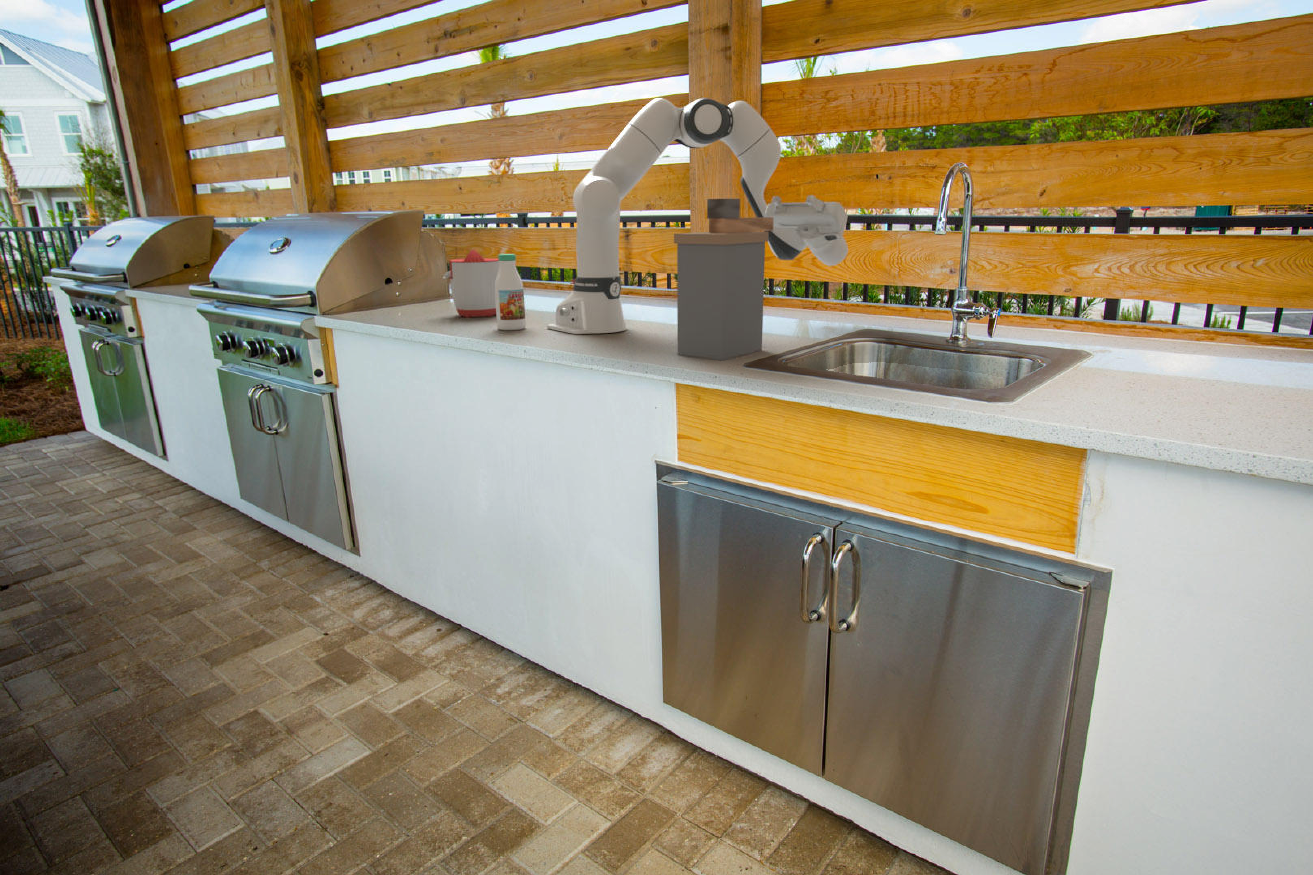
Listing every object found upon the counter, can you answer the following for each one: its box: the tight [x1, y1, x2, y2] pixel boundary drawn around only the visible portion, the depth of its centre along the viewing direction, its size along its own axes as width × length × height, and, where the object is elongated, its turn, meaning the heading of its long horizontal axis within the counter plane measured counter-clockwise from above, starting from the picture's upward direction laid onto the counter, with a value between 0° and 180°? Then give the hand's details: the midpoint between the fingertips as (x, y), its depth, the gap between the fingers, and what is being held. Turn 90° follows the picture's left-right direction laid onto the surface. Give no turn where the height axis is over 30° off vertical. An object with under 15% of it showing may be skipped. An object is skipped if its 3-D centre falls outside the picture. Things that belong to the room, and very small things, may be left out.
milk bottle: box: [495, 253, 527, 331], centre depth 208 cm, size 8×8×20 cm
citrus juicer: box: [442, 249, 500, 319], centre depth 235 cm, size 16×17×20 cm
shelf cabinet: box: [673, 231, 769, 361], centre depth 169 cm, size 13×17×26 cm
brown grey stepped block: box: [706, 198, 773, 233], centre depth 170 cm, size 5×20×7 cm, turn 141°
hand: (791, 198), depth 185 cm, fingers open, 8 cm apart
